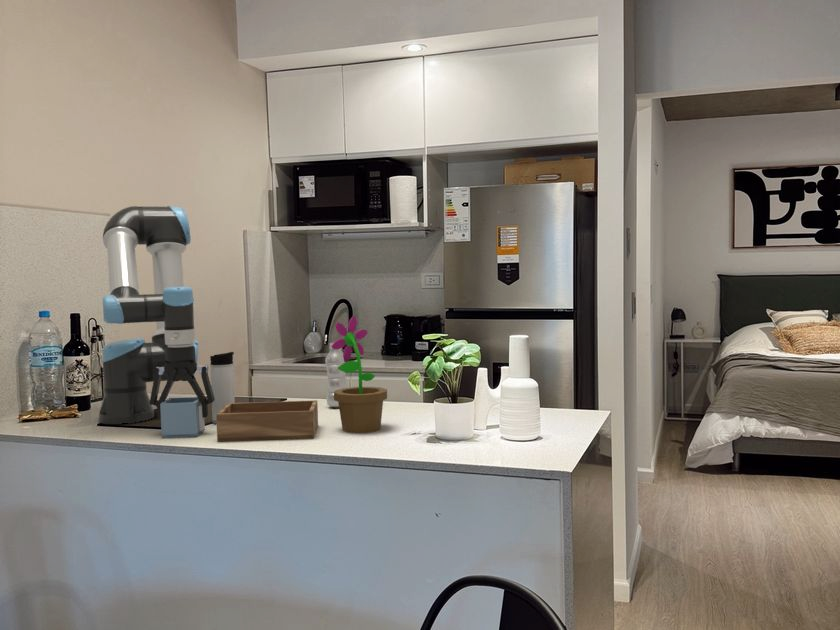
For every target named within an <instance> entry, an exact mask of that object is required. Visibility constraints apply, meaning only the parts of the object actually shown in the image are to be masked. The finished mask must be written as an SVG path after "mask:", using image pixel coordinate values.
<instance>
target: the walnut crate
mask: <svg viewBox="0 0 840 630" xmlns="http://www.w3.org/2000/svg"><path fill="white" fill-rule="evenodd" d="M318 408H319V407H318V400H317V399H316V400H294V401H293V400H286V401H284V400H283V401H282V400H281V401H259V402H258V401H256V402H255V401H254V402H253V401H252V402H235V403H228V404H227V405H226V406H225V407H224V408H223V409H222V410H220V411H219V412H218V413H217V414H216V419H217V424H216V438H217V442H218V443H222V442H223V443H226V442H227V443H229V442H253V441H257V442H259V441H282V440H286V441H287V440H288V439H289V440H312V439H315V435H316V433H317V429H318V428H319V412H318V411H319V410H318ZM289 440H288V441H289Z"/></svg>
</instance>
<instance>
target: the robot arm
mask: <svg viewBox="0 0 840 630" xmlns="http://www.w3.org/2000/svg"><path fill="white" fill-rule="evenodd" d="M190 229H191V228H190V223H189V218H188V215H187V213H186V211H185V209H183V208H182V207H180V206H178V207H177V206H169V205H168V206H138V205H137V206H136V205H134V206H133V205H132V206H128V207H124V208H123V209H120V210H119V211H117V212H116V213H114V214H113V215H112V216H111V217H110V218H109V220H108V221H107V222H106V224H105V227H104V228H103V232H102V241H103V245H104V247H105V249H107V250H106V251H107V265H108V266H107V267H108V283H109V295H104V296H103V297H102V310H103V311H102V313H103V321H104V322H105V323H106V324H119V325H122V324H135V323H137V324H138V323H155V324H156V331H155V332H154V334H152V335H151V341H150V342H146V340H145V339H144V338H143V337H135V338H129V339H121V340H118V341H114V342H110V343H107V344H106V345H104V346H103V348H102V356H101V357H102V360H101V363H102V370H103V371H102V372H103V373H102V374H103V375H102V376H103V398H102V401H101V405H100V407H99V411H98V422H99V423H100V424H103V425H104V424H105V425H123V424H122V423H128V424H136V423H140V421H142V422H145V420H146V421H149V419H150V420H151V418H152V419H154V418H155V410H154V407H155V408H156V411H157V418H158V420H161V409H160V404H161V403H162V402H164V401H165V400H167V399H168V398H167V397H168V395H169V393H170V391H171V390H172V387H173V385H174V383H175V382H179V381H182V382H188V383H189V385H190V387H191V388H192V390H193V392H194V394H195V395H196V396H195V397H198V399H199V401H200V403H201V404H202V405H200V406H199V426H200V431H203V430H204V429H205V428H206V425H205V424H206V423H205V421H206V420H205V419H206V418H208V416H209V407H208V406H209V404H212V402H213V401H214V400H215V398H214V395H213V391H212V387H211V379H210V377H209V366H208V365H207V364H205V365H198V358H199V341H198V340H197V339H195V322H194V319H195V318H194V317H195V316H194V312H195V311H194V301H195V298H194V294H193V288H192V287H190V286H184V272H183V270H184V269H183V260H182V259H183V257H182V254H183V253H184V252H185V251H186V250H187V245H190V244H191V230H190ZM138 245H140V246H141V245H142V246H143V245H144V246H145V245H146V247H145V248H146V252H148V254H150V255H151V257H152V273H153V275H152V276H153V286H154V287H153V288H154V289H153V291H154V294H152V293H151V294H144V293H143V294H140V289H139V288H140V287H139V278H138V269H137V268H138V266H137V257H136V256H137V255H136V254H137V253H136V247H137V246H138ZM197 371H198V374H200V375H201V377H200V378H201V380H202V383H203V387H204V391H205V394H206V395H205V394H204V392H203V390H202V388H201V387H200V384H199V383H198V381H197V379H196V377H195V375H196V372H197ZM152 382H153V383H152ZM161 382H166V383H165V385H164V388H163V390H162V392H161V395H160V396H159V392H160V386H161ZM147 383H152V387H151V392H150V397H149V395H148V391H147ZM158 397H159V399H158ZM153 417H154V418H153ZM135 422H136V423H135ZM205 430H206V429H205ZM205 430H204V431H205ZM204 431H203V432H204Z"/></svg>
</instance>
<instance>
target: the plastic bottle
mask: <svg viewBox="0 0 840 630" xmlns="http://www.w3.org/2000/svg"><path fill="white" fill-rule="evenodd" d="M333 343H334V342H329V347H328V349H329V352H328V354H327V355H326V356H325V360H324V361H325V363H324V364H325V369H326V373H327V374H326V376H327V393H326V404H327V406H328V407H331V408H334V409H335V408H336V409H339V403H338V401H335V400H334V392H335V390H339V389H343V388H347V382H346V374H347V373H345V372H343V371H341V370H339V369H338V367H339V366H341V365H342V364H344V363H345V362H344V358H343V353H344V351H342V349H343V347H342V348H340V349H332V345H333Z"/></svg>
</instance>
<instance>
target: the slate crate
mask: <svg viewBox="0 0 840 630" xmlns="http://www.w3.org/2000/svg"><path fill="white" fill-rule="evenodd" d="M200 405H202V404H201V403H200V401H199V399H198V397H197V396H191V397H190V396H188V397H187V396H186V397H183V396H182V397H168V398H166V400H165V401H164V402H162V403H161V404H160V409H161V419H160V425H161V427H160V429H161V431H160V433H161V438H162V439H178V438H179V439H180V438H181V439H183V438H198V437H199V436H200V435H202V433H203V432H204V431H205V430H206V429H204V430H203V431H200V426H199V406H200Z"/></svg>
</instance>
